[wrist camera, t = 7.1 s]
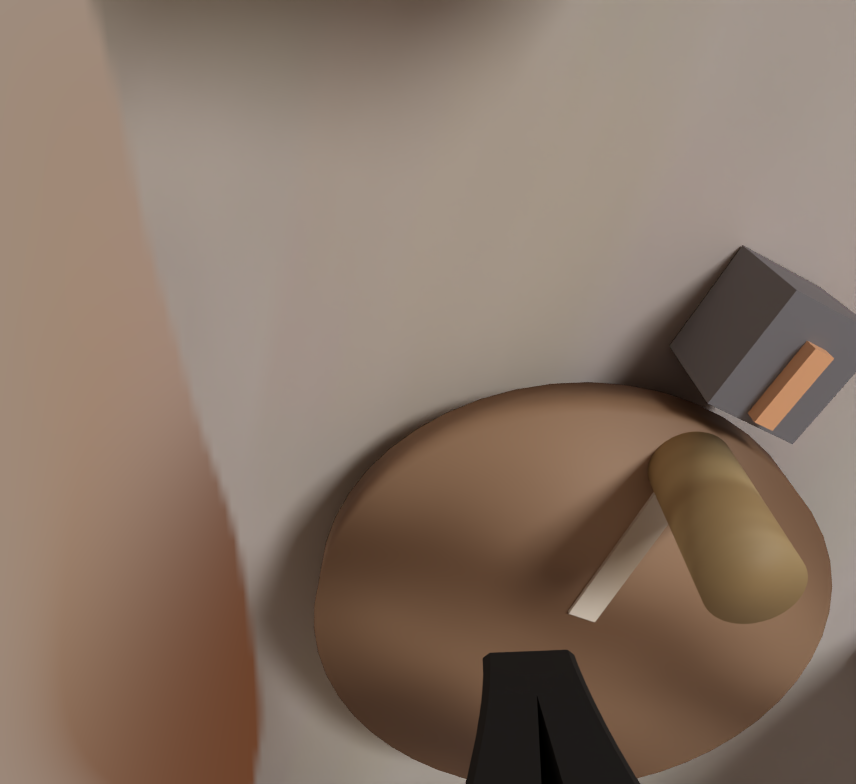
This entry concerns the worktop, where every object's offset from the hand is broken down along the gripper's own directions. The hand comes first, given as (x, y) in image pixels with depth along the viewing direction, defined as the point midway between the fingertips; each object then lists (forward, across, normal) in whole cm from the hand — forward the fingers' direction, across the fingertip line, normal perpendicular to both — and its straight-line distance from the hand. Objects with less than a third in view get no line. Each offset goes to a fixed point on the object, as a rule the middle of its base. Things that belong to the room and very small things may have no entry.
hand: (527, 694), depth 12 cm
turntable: (+8, -2, +6) cm, 10 cm away
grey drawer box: (+9, -6, -2) cm, 12 cm away
